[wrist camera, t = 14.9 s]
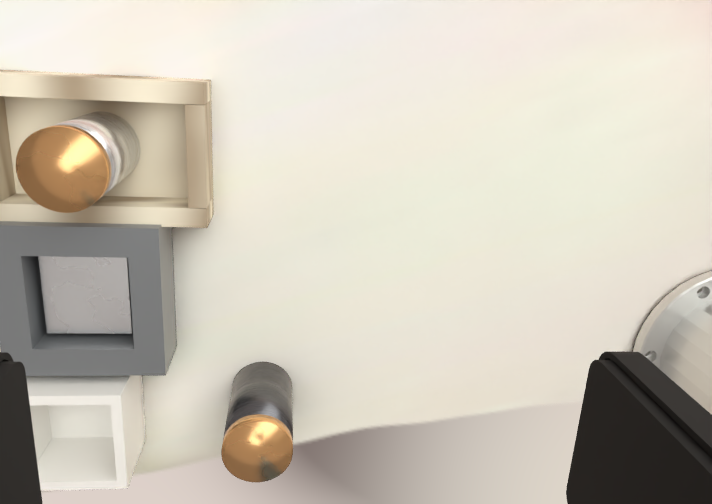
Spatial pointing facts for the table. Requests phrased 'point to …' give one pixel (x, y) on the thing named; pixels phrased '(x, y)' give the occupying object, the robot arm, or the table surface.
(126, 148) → the cylinder
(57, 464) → the cup
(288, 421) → the black cell
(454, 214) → the table surface
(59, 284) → the plate
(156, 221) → the trough
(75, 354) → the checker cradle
